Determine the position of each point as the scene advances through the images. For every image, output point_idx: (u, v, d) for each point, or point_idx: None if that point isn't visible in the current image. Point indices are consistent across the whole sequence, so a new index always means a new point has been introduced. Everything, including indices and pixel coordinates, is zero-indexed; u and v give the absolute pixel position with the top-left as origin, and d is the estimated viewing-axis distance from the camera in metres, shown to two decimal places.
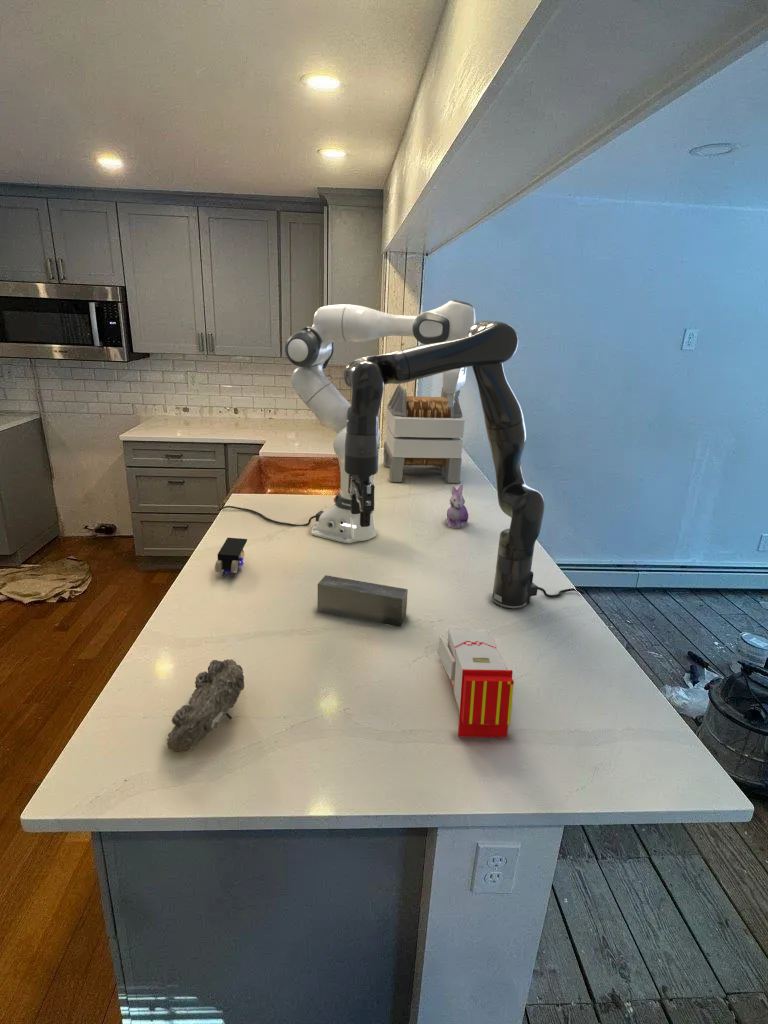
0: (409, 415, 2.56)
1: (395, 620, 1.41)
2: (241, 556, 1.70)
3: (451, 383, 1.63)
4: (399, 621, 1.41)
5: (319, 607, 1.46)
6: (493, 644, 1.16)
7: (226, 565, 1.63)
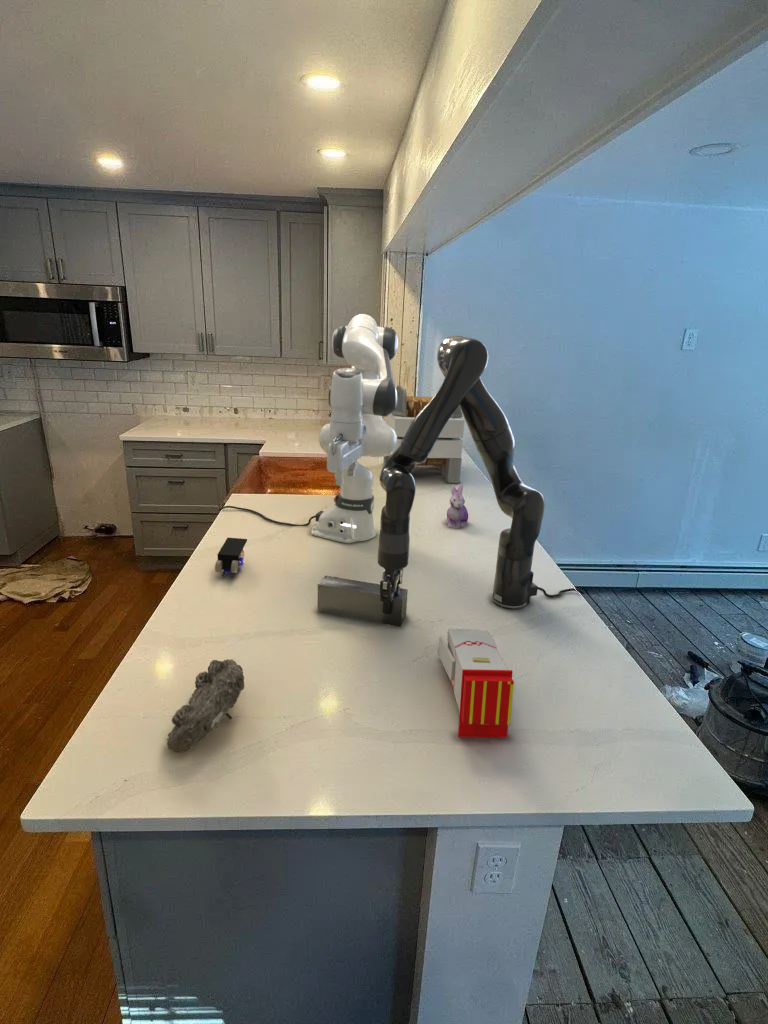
0: (409, 415, 2.56)
1: (395, 620, 1.41)
2: (241, 556, 1.70)
3: None
4: (399, 621, 1.41)
5: (319, 607, 1.46)
6: (493, 644, 1.16)
7: (226, 565, 1.63)
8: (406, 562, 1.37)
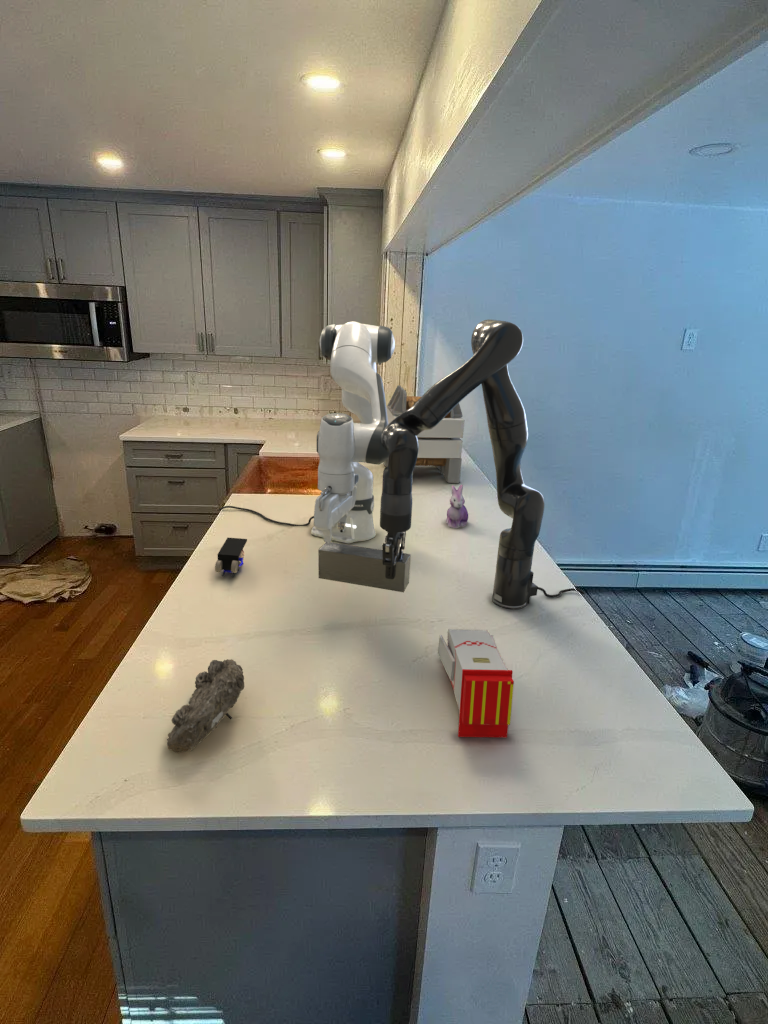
0: None
1: (397, 585, 1.38)
2: (241, 556, 1.70)
3: None
4: (402, 586, 1.38)
5: (320, 574, 1.43)
6: (493, 644, 1.16)
7: (226, 565, 1.63)
8: (409, 525, 1.34)
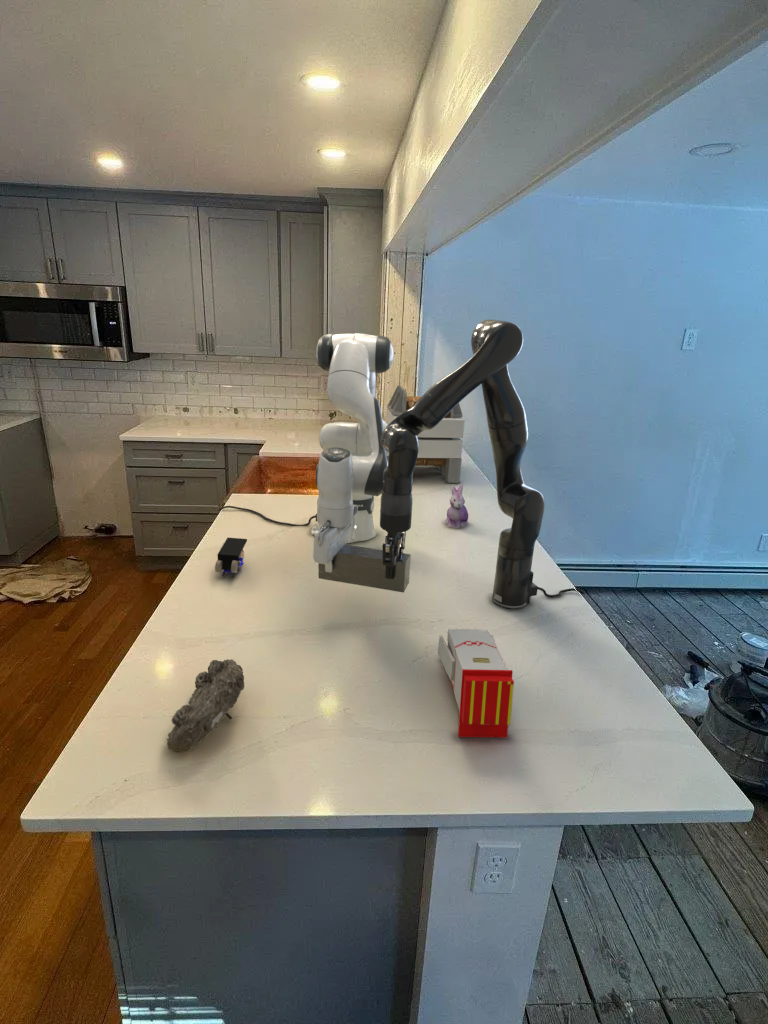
0: None
1: (397, 585, 1.38)
2: (241, 556, 1.70)
3: None
4: (402, 586, 1.38)
5: (320, 574, 1.43)
6: (493, 644, 1.16)
7: (226, 565, 1.63)
8: (409, 525, 1.34)
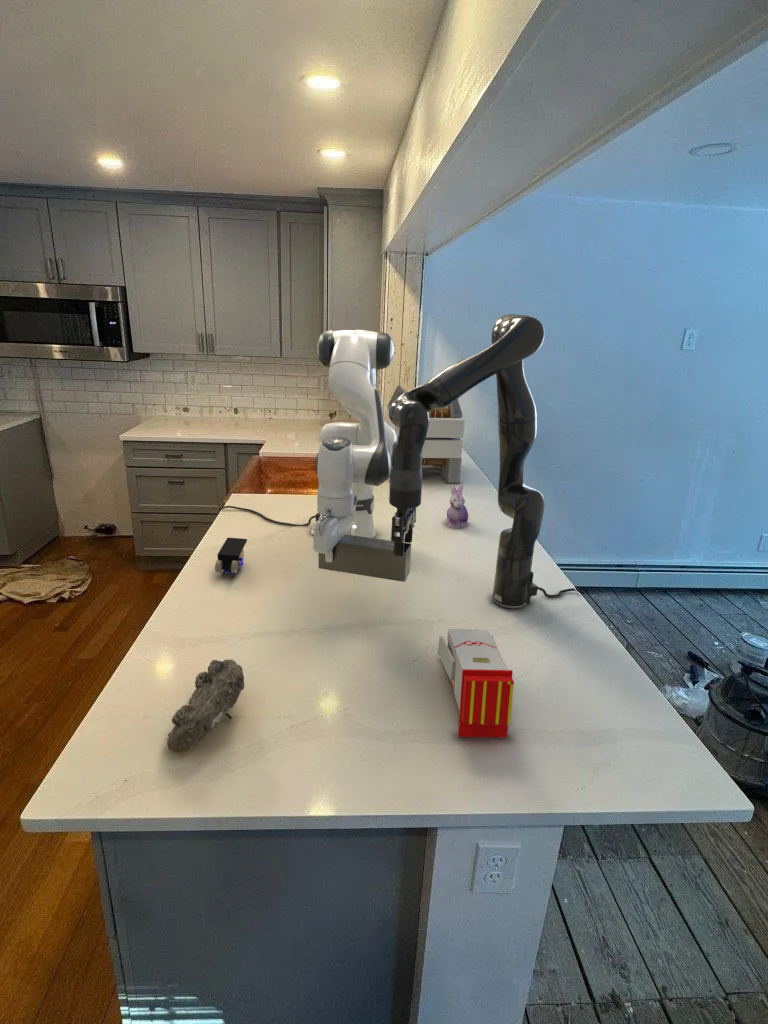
0: None
1: (398, 574, 1.37)
2: (241, 556, 1.70)
3: None
4: (403, 576, 1.37)
5: (320, 564, 1.42)
6: (493, 644, 1.16)
7: (226, 565, 1.63)
8: (419, 501, 1.31)
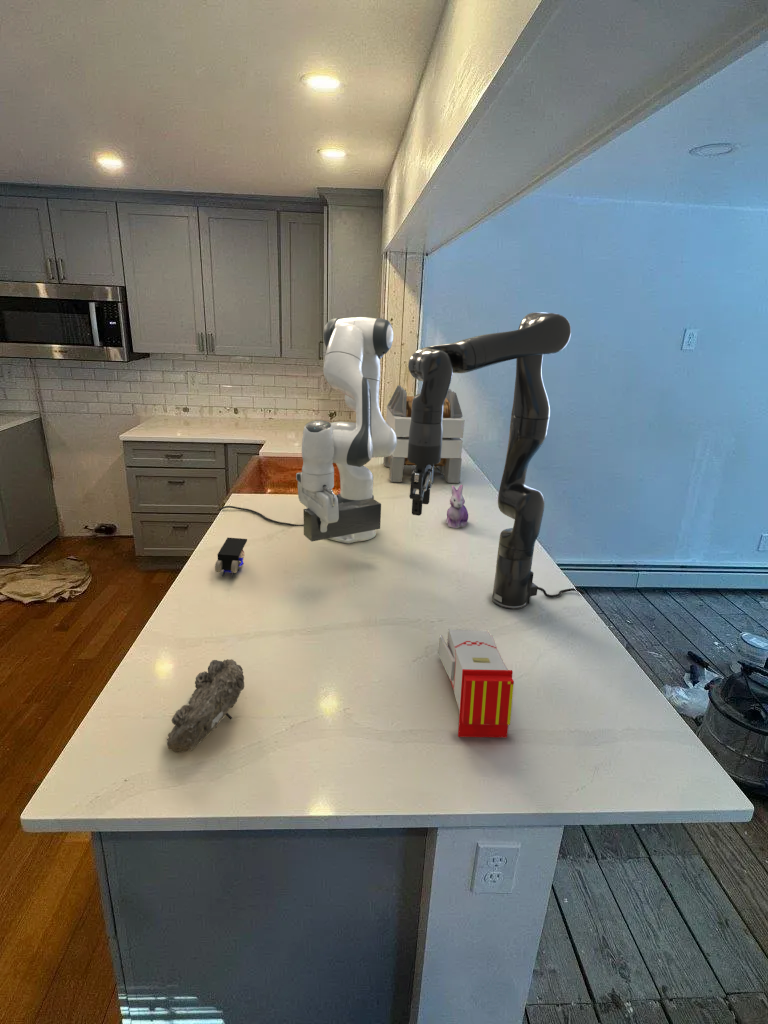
0: (409, 415, 2.56)
1: (376, 524, 1.68)
2: (241, 556, 1.70)
3: None
4: (379, 524, 1.69)
5: (313, 537, 1.58)
6: (493, 644, 1.16)
7: (226, 565, 1.63)
8: (439, 458, 1.27)
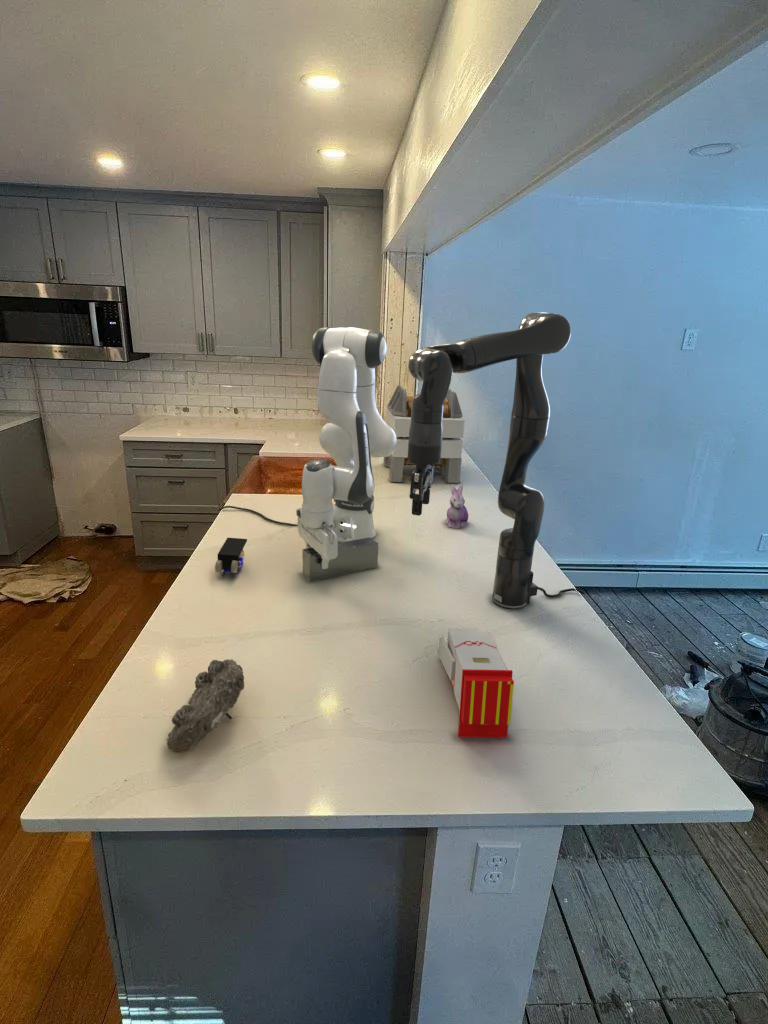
0: (409, 415, 2.56)
1: (373, 563, 1.72)
2: (241, 556, 1.70)
3: None
4: (376, 563, 1.73)
5: (311, 577, 1.62)
6: (493, 644, 1.16)
7: (226, 565, 1.63)
8: (439, 458, 1.27)
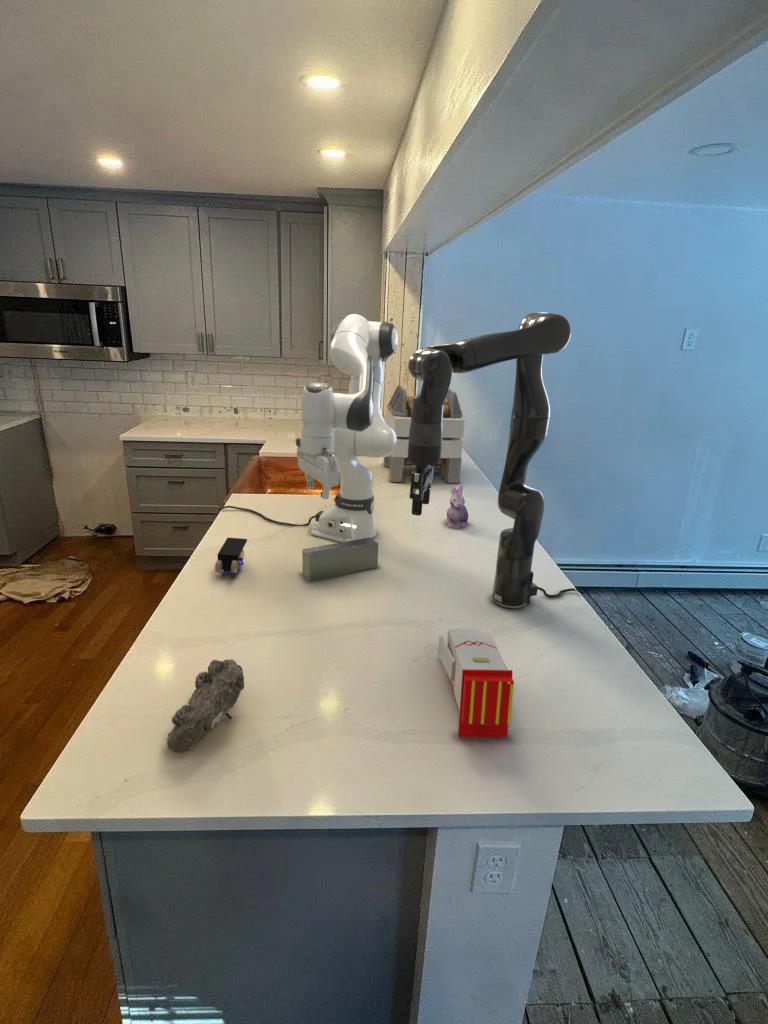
0: (409, 415, 2.56)
1: (373, 563, 1.72)
2: (241, 556, 1.70)
3: None
4: (376, 563, 1.73)
5: (311, 577, 1.62)
6: (493, 644, 1.16)
7: (226, 565, 1.63)
8: (439, 458, 1.27)
